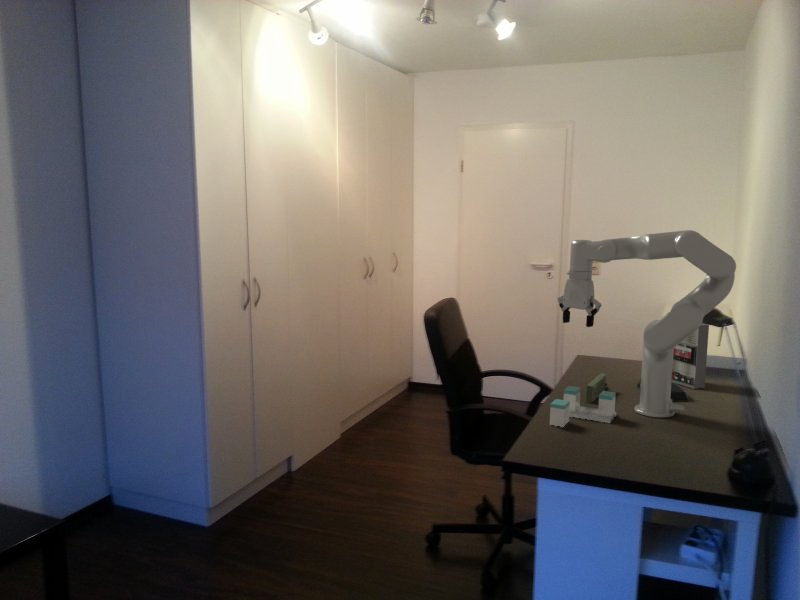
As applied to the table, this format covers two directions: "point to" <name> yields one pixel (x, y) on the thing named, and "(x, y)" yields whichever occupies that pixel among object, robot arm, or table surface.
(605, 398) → the rail plate
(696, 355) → the grey printed box
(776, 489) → the table surface
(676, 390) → the external hard drive
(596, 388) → the handheld radio
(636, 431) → the table surface
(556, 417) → the block
